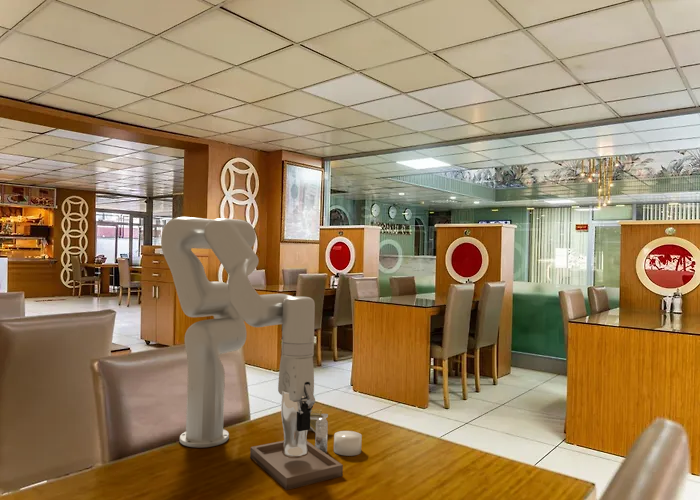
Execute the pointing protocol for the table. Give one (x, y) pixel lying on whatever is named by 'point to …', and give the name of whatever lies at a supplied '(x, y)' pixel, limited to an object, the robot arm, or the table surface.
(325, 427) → the salt shaker
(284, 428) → the silver metal tumbler
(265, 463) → the tray
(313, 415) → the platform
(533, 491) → the table surface
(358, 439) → the white rounded cylinder
